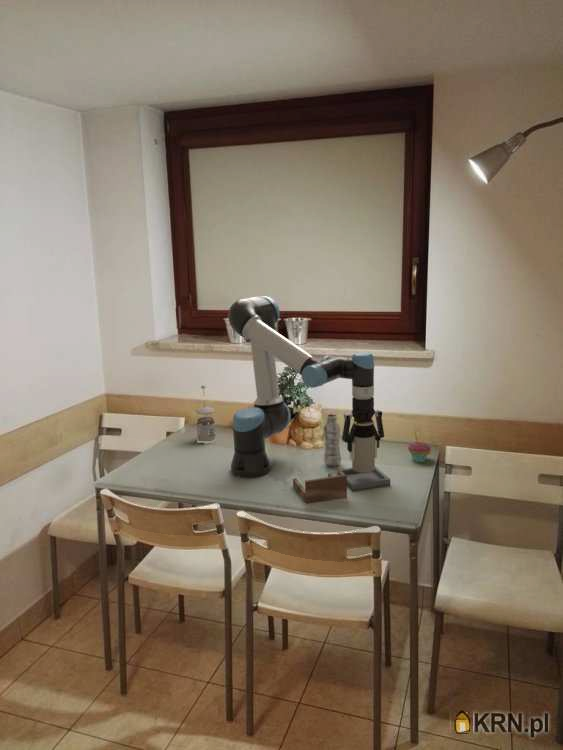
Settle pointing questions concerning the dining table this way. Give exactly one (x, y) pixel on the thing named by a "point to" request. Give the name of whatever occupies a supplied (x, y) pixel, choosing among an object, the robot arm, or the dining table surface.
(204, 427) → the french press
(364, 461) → the travel mug
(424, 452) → the cupcake
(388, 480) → the charcoal tray
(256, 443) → the robot arm
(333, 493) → the walnut dock
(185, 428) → the dining table surface
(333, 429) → the metal bottle
